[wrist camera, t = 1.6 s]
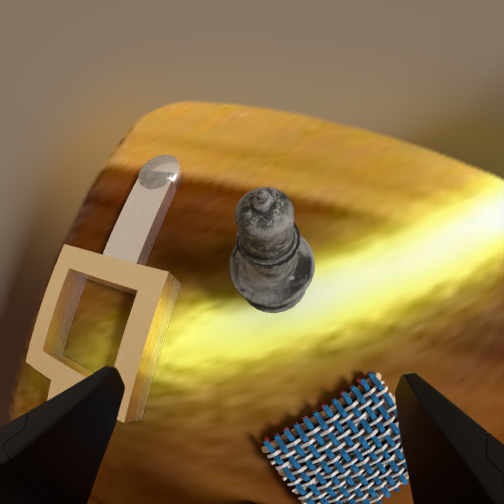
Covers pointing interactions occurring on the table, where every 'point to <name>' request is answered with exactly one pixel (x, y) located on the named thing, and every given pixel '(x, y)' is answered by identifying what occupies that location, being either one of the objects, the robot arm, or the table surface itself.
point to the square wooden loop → (136, 332)
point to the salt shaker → (270, 252)
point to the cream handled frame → (135, 251)
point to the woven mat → (344, 448)
